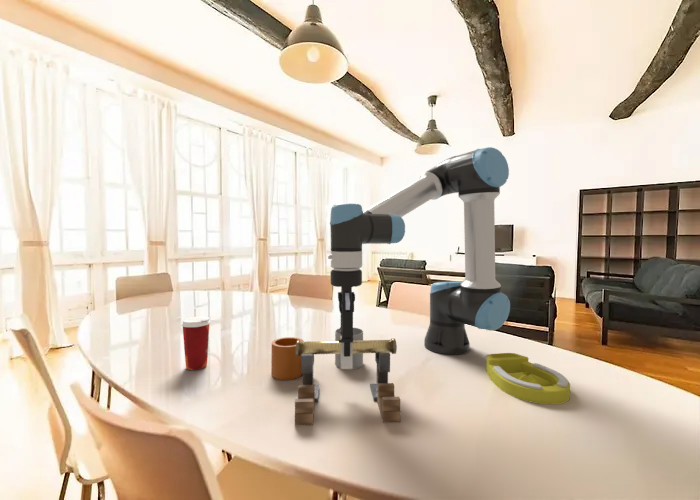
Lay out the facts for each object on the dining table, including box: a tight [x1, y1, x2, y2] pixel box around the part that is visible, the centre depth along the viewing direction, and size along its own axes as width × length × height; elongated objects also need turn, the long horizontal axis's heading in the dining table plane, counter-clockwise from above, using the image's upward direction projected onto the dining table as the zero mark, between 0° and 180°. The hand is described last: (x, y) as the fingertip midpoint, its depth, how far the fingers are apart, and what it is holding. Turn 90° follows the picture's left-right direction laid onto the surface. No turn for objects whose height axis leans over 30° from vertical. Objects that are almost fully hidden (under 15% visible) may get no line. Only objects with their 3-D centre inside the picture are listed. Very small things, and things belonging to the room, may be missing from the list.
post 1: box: [295, 354, 320, 403], centre depth 77 cm, size 5×7×11 cm
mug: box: [270, 336, 315, 381], centre depth 89 cm, size 9×12×9 cm
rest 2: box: [376, 382, 401, 424], centre depth 69 cm, size 4×8×5 cm, turn 3°
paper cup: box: [181, 315, 211, 371], centre depth 94 cm, size 8×8×14 cm
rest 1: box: [294, 384, 316, 427], centre depth 68 cm, size 4×8×5 cm, turn 3°
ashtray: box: [485, 352, 571, 405], centre depth 83 cm, size 16×21×5 cm
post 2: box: [369, 353, 396, 402], centre depth 78 cm, size 5×7×11 cm
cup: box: [334, 327, 364, 370], centre depth 96 cm, size 8×8×10 cm
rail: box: [296, 338, 398, 356], centre depth 77 cm, size 24×4×4 cm, turn 93°
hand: (346, 365), depth 77 cm, fingers closed on rail, 3 cm apart
